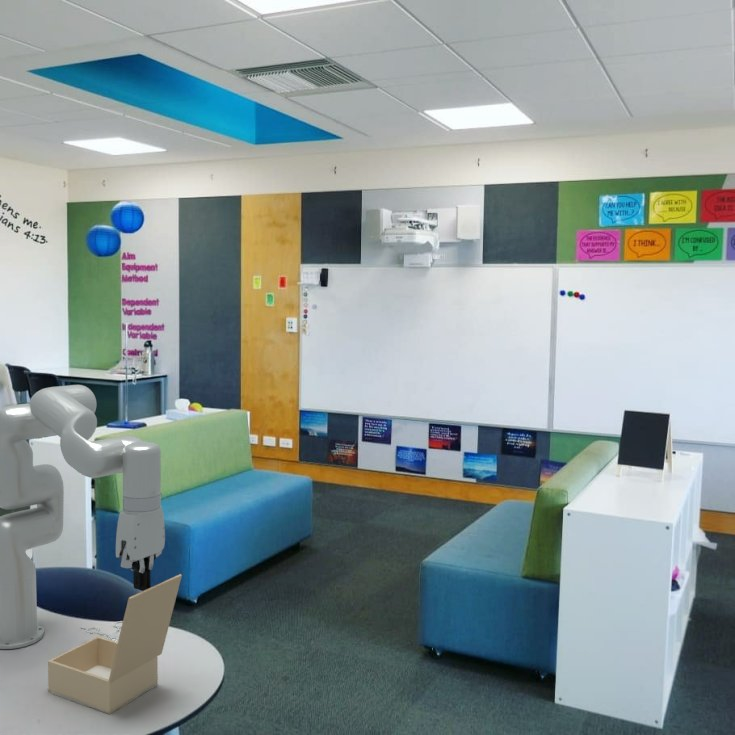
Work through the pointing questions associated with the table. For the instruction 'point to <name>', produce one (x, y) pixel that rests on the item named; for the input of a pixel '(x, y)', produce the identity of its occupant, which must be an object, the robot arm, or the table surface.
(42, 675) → the table surface
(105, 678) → the box
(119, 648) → the lid
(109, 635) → the scissors
